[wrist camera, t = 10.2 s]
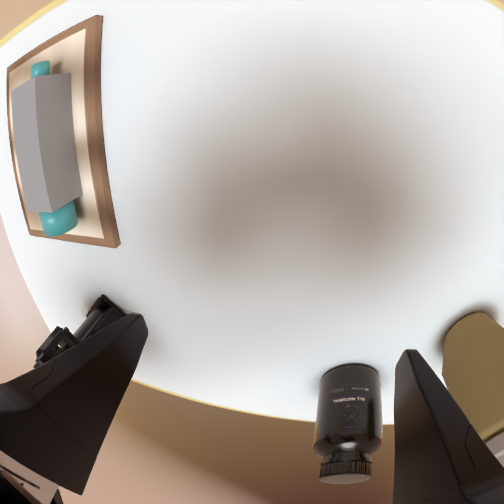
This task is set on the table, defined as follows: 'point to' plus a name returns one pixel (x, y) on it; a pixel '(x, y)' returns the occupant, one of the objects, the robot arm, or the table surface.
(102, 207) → the brown framed board
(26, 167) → the marker
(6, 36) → the table surface
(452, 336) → the squeeze bottle
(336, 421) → the supplement bottle
